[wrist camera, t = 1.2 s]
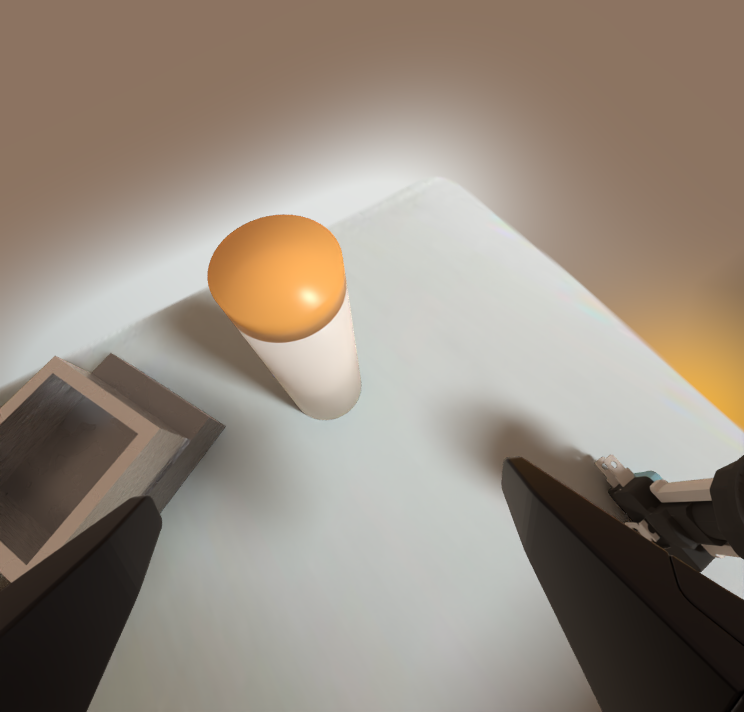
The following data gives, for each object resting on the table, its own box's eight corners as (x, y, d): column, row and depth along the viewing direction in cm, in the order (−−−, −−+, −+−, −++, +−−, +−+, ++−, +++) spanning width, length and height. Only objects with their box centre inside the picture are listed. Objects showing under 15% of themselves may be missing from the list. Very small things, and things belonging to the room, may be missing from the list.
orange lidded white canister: (337, 433, 24) (290, 347, 11) (279, 398, 25) (178, 285, 12) (374, 374, 25) (367, 244, 13) (317, 344, 27) (263, 198, 14)
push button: (565, 484, 22) (696, 464, 13) (622, 437, 23) (779, 388, 14) (653, 588, 20) (890, 653, 10) (712, 530, 21) (971, 543, 12)
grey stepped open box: (89, 605, 20) (-9, 637, 15) (-6, 518, 22) (-121, 520, 17) (225, 426, 24) (185, 403, 19) (134, 366, 26) (75, 332, 21)
